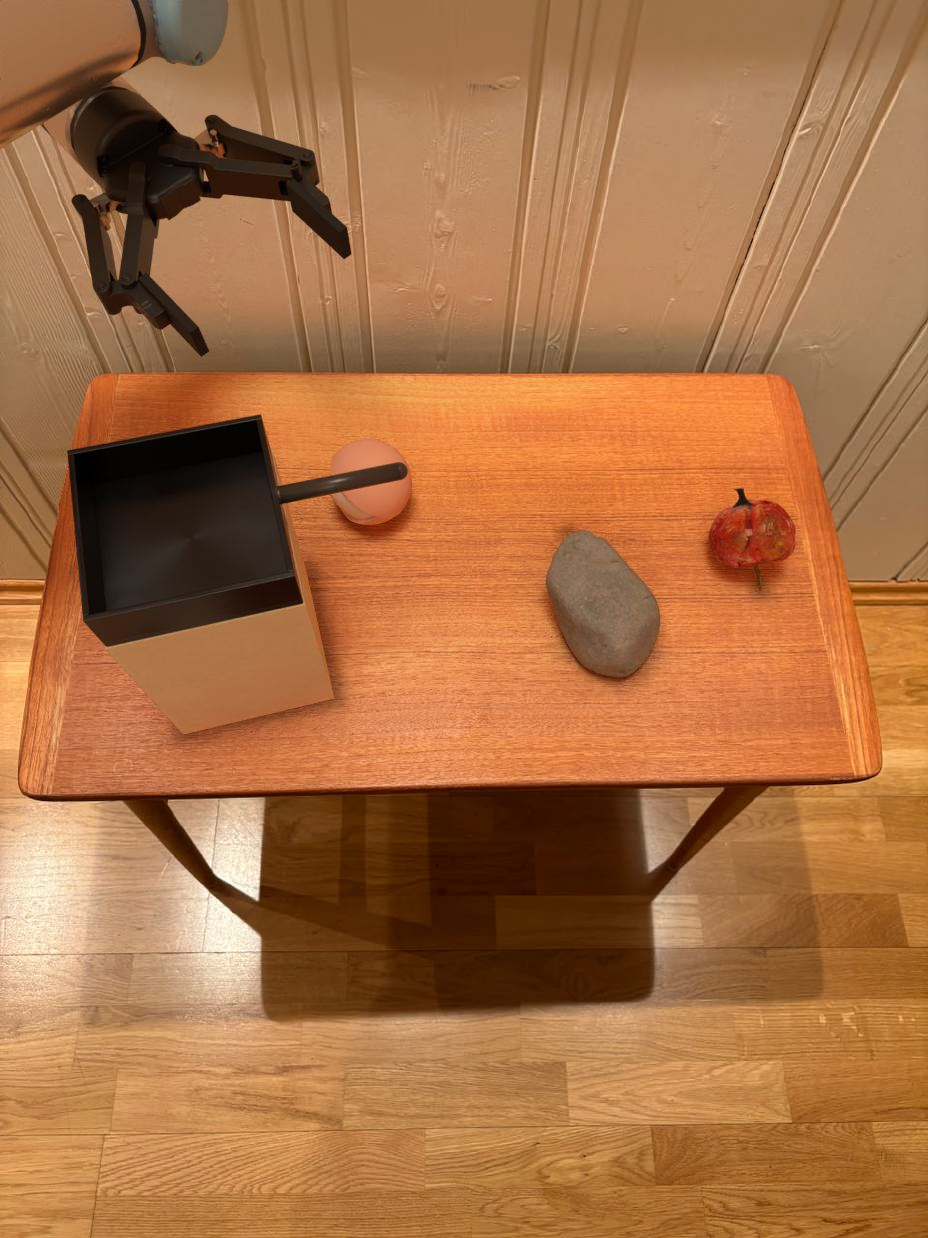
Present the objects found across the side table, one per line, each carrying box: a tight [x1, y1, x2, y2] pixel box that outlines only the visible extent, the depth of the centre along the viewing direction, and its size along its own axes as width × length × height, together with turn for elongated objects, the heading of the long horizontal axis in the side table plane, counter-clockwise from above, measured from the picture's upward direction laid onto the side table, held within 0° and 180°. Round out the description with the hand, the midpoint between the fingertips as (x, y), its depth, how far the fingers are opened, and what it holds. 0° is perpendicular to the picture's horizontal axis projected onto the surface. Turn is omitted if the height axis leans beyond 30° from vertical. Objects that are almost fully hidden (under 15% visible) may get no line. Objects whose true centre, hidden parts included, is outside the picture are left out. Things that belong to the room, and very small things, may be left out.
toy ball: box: [329, 438, 413, 526], centre depth 78 cm, size 8×8×8 cm
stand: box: [104, 447, 335, 735], centre depth 66 cm, size 13×13×19 cm
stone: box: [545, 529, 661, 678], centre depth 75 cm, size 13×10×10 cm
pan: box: [66, 414, 408, 647], centre depth 56 cm, size 22×13×4 cm, turn 105°
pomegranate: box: [708, 487, 797, 591], centre depth 78 cm, size 7×7×10 cm
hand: (275, 291), depth 62 cm, fingers open, 13 cm apart
